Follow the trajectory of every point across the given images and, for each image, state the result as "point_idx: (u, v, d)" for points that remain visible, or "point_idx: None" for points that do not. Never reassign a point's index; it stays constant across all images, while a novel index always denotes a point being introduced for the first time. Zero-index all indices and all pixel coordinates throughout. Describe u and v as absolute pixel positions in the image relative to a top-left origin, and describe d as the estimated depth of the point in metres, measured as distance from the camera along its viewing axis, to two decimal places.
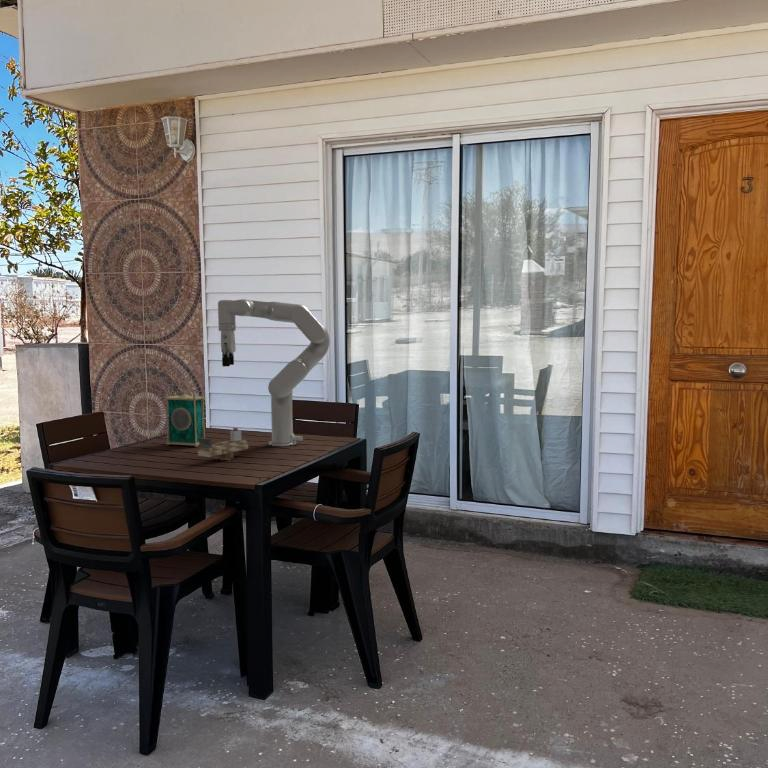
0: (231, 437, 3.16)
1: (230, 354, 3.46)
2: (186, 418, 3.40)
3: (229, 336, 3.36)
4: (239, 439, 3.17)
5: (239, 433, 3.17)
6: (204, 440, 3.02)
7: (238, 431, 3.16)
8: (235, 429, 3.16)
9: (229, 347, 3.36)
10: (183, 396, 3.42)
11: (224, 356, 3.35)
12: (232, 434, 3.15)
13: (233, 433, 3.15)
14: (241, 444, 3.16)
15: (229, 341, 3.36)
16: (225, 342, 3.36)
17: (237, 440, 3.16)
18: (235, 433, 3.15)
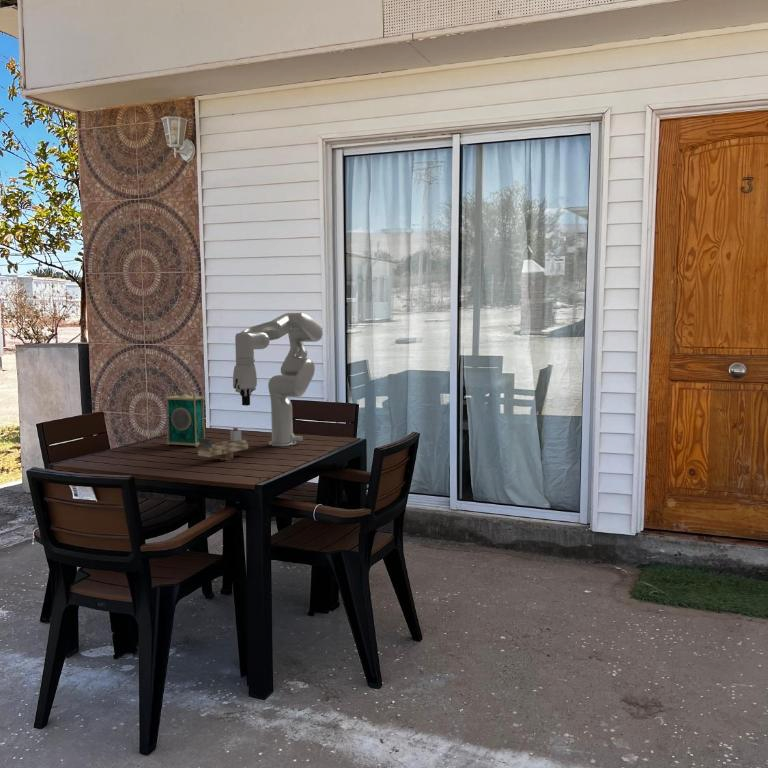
0: (231, 437, 3.16)
1: None
2: (186, 418, 3.40)
3: None
4: (239, 439, 3.17)
5: (239, 433, 3.17)
6: (204, 440, 3.02)
7: (238, 431, 3.16)
8: (235, 429, 3.16)
9: None
10: (183, 396, 3.42)
11: None
12: (232, 434, 3.15)
13: (233, 433, 3.15)
14: (241, 444, 3.16)
15: None
16: None
17: (237, 440, 3.16)
18: (235, 433, 3.15)
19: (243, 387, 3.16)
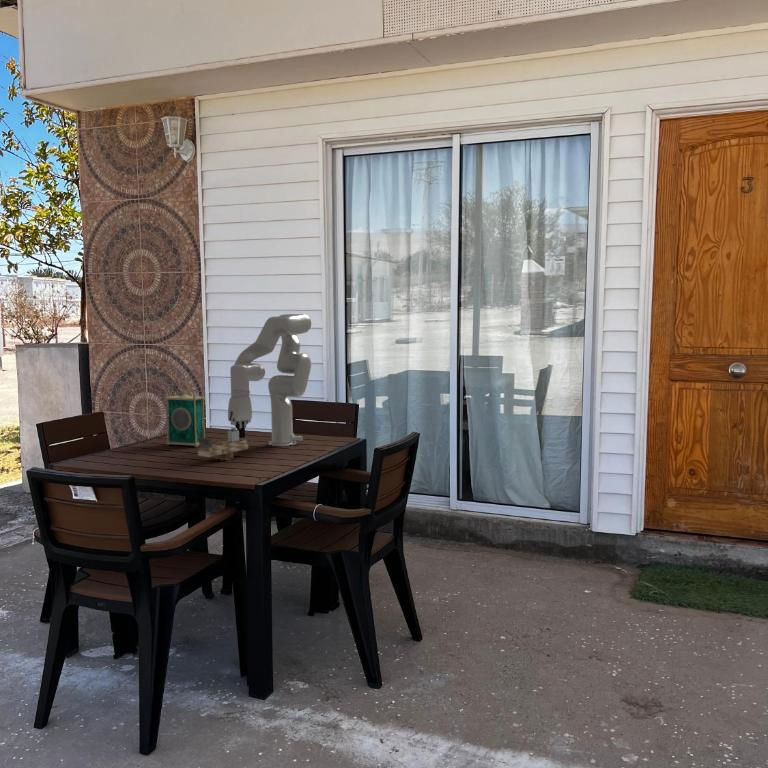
0: (229, 437, 3.15)
1: None
2: (186, 418, 3.40)
3: None
4: (237, 439, 3.16)
5: (237, 434, 3.16)
6: (204, 440, 3.02)
7: (236, 431, 3.15)
8: (233, 429, 3.15)
9: None
10: (183, 396, 3.42)
11: None
12: (230, 434, 3.14)
13: (231, 434, 3.13)
14: (241, 444, 3.16)
15: None
16: None
17: (235, 440, 3.15)
18: (233, 433, 3.14)
19: (238, 420, 3.15)
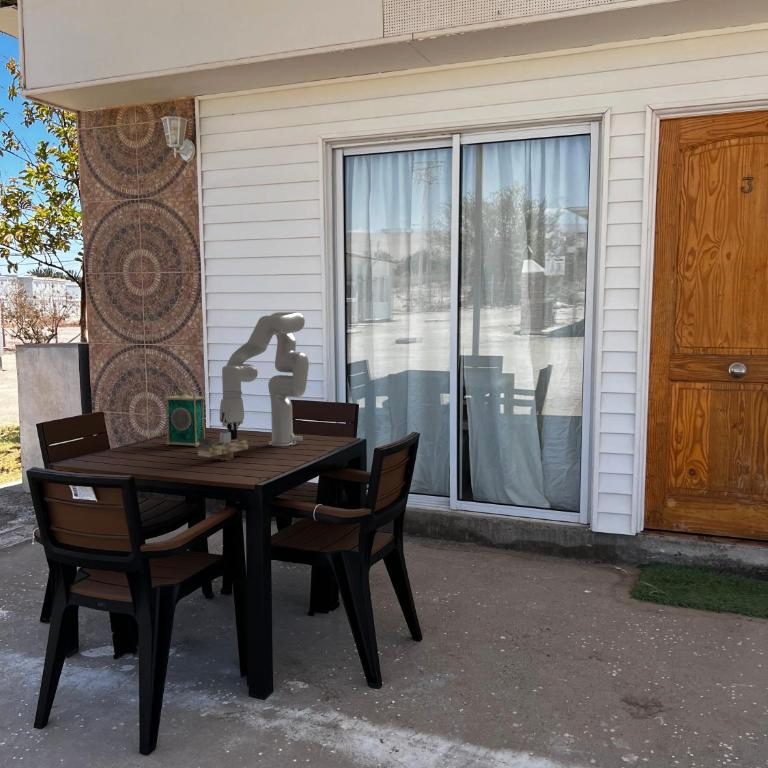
0: (220, 439, 3.11)
1: None
2: (186, 418, 3.40)
3: None
4: (229, 441, 3.12)
5: (229, 435, 3.12)
6: (204, 440, 3.02)
7: (227, 433, 3.12)
8: (224, 431, 3.11)
9: None
10: (183, 396, 3.42)
11: None
12: (221, 436, 3.10)
13: (223, 435, 3.10)
14: (241, 444, 3.16)
15: None
16: None
17: (226, 442, 3.11)
18: (225, 435, 3.10)
19: (230, 421, 3.11)
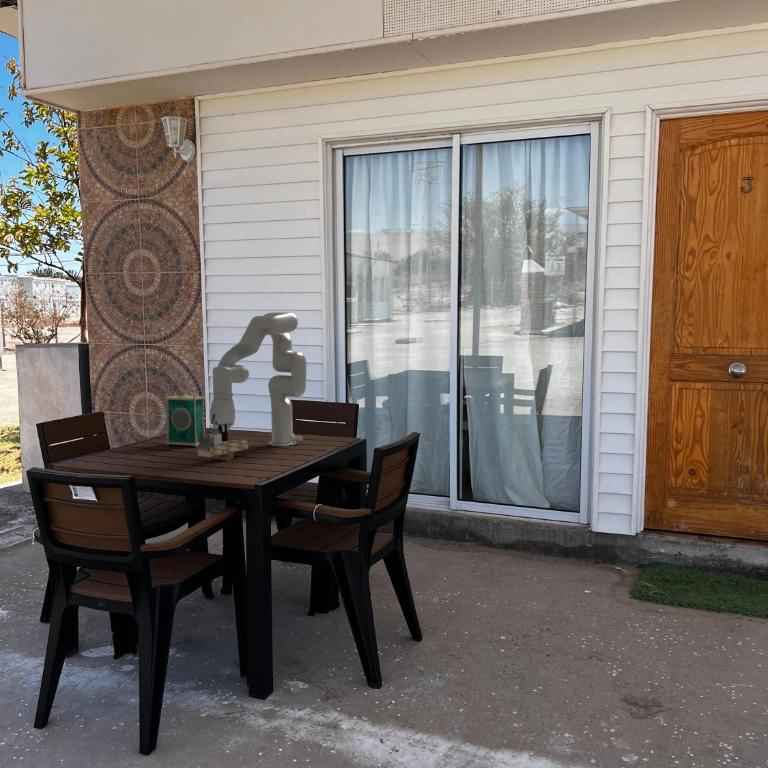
0: None
1: None
2: (186, 418, 3.40)
3: None
4: (219, 443, 3.08)
5: (220, 437, 3.08)
6: (204, 440, 3.02)
7: (218, 435, 3.07)
8: (215, 433, 3.07)
9: None
10: (183, 396, 3.42)
11: None
12: (212, 438, 3.06)
13: (213, 437, 3.06)
14: (241, 444, 3.16)
15: None
16: None
17: (217, 444, 3.07)
18: (215, 437, 3.06)
19: (220, 423, 3.07)
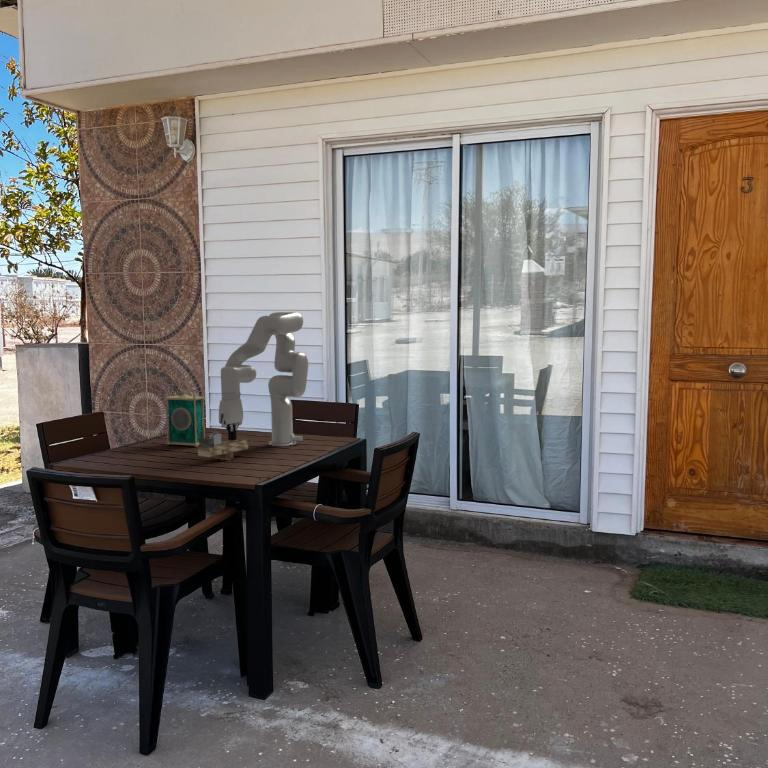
0: None
1: None
2: (186, 418, 3.40)
3: None
4: (219, 443, 3.08)
5: (219, 437, 3.08)
6: (204, 440, 3.02)
7: (218, 435, 3.07)
8: (215, 433, 3.07)
9: None
10: (183, 396, 3.42)
11: None
12: (211, 438, 3.06)
13: (213, 437, 3.05)
14: (241, 444, 3.16)
15: None
16: None
17: (217, 444, 3.07)
18: (215, 437, 3.06)
19: (229, 422, 3.11)
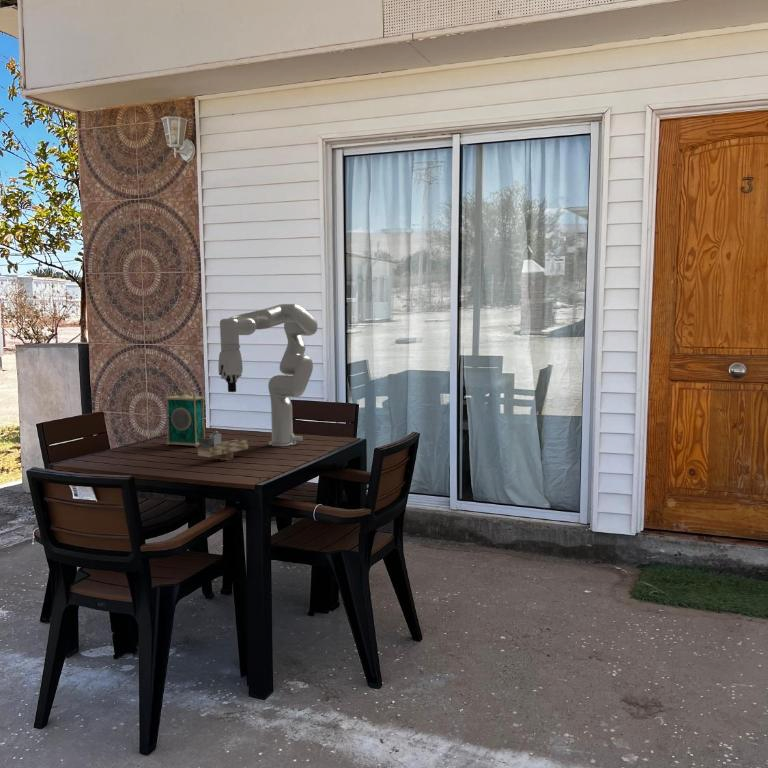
0: None
1: None
2: (186, 418, 3.40)
3: None
4: (219, 443, 3.08)
5: (219, 437, 3.08)
6: (204, 440, 3.02)
7: (218, 435, 3.07)
8: (215, 433, 3.07)
9: None
10: (183, 396, 3.42)
11: None
12: (211, 438, 3.06)
13: (213, 437, 3.05)
14: (241, 444, 3.16)
15: None
16: None
17: (217, 444, 3.07)
18: (215, 437, 3.06)
19: (229, 373, 3.13)
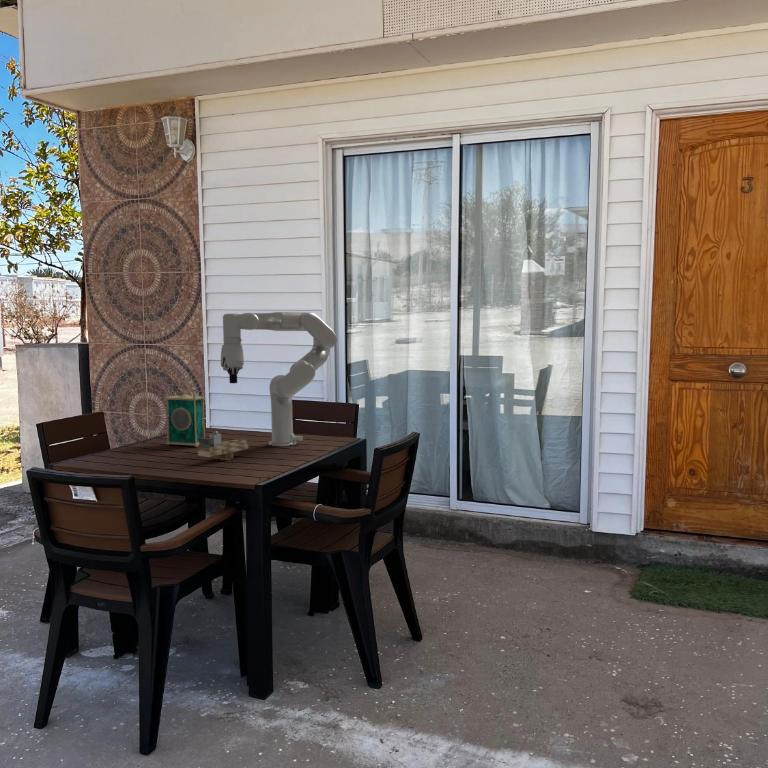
0: None
1: None
2: (186, 418, 3.40)
3: None
4: (219, 443, 3.08)
5: (219, 437, 3.08)
6: (204, 440, 3.02)
7: (218, 435, 3.07)
8: (215, 433, 3.07)
9: None
10: (183, 396, 3.42)
11: None
12: (211, 438, 3.06)
13: (213, 437, 3.05)
14: (241, 444, 3.16)
15: None
16: None
17: (217, 444, 3.07)
18: (215, 437, 3.06)
19: (230, 365, 3.31)
